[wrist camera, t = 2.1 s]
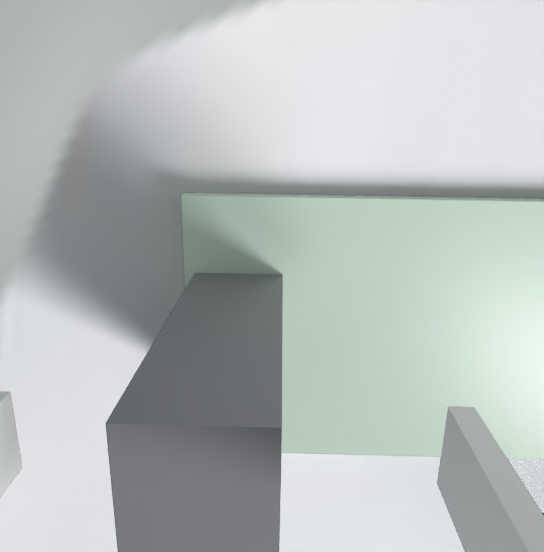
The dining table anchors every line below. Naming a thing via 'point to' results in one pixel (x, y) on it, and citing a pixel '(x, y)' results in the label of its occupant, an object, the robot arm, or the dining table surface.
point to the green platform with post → (324, 353)
